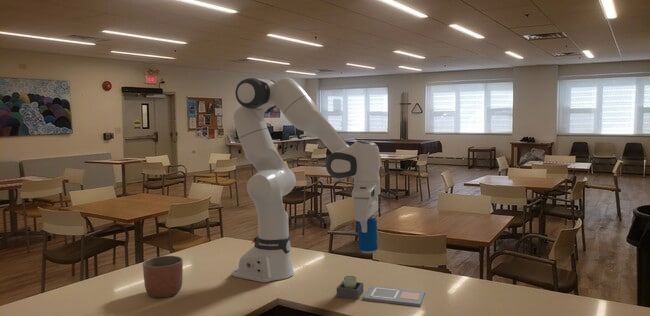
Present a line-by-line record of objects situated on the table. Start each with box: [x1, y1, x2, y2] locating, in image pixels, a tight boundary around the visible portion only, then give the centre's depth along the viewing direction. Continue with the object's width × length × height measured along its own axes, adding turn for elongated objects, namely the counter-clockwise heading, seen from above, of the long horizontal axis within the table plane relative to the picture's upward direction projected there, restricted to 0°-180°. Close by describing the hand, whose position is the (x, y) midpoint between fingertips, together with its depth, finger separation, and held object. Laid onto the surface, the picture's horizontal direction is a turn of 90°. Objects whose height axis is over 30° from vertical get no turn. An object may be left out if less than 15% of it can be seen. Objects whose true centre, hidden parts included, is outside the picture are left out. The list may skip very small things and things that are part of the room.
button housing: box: [336, 280, 364, 300], centre depth 154 cm, size 7×7×3 cm
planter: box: [142, 255, 184, 299], centre depth 156 cm, size 12×12×11 cm
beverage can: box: [357, 214, 379, 254], centre depth 161 cm, size 6×6×12 cm
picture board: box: [362, 285, 426, 307], centre depth 151 cm, size 18×11×1 cm, turn 71°
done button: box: [343, 275, 357, 289], centre depth 154 cm, size 4×4×4 cm
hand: (367, 229), depth 161 cm, fingers closed on beverage can, 6 cm apart
